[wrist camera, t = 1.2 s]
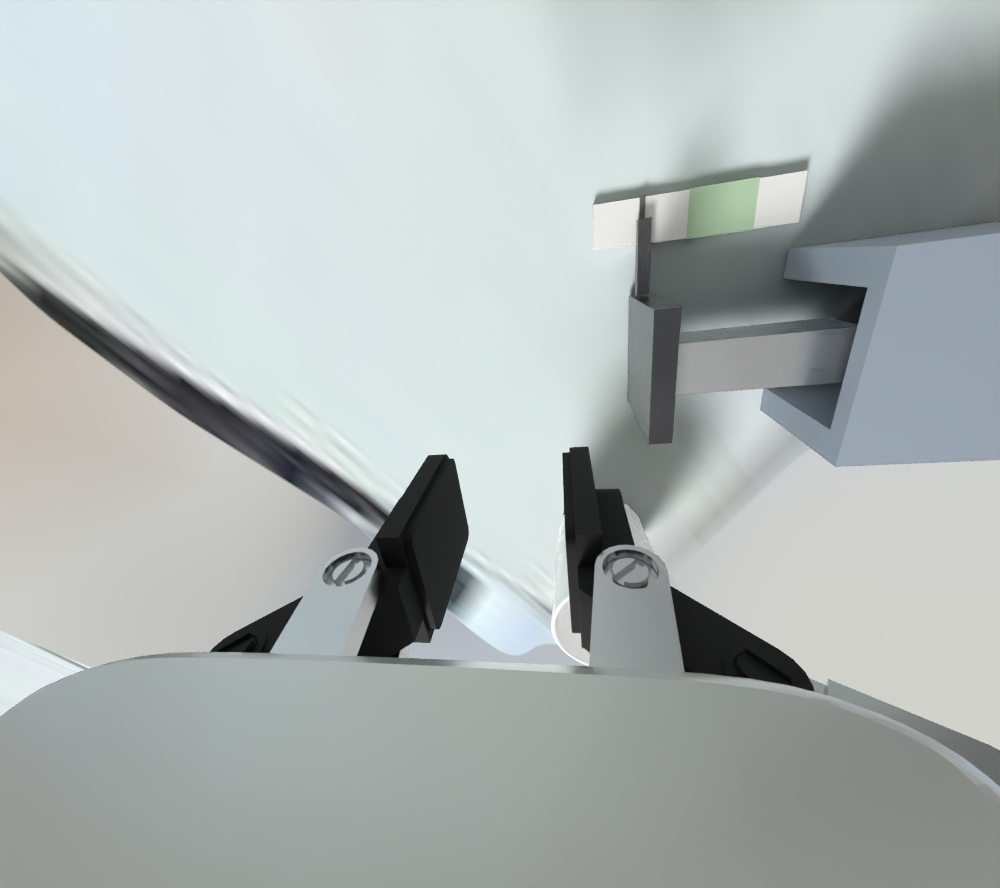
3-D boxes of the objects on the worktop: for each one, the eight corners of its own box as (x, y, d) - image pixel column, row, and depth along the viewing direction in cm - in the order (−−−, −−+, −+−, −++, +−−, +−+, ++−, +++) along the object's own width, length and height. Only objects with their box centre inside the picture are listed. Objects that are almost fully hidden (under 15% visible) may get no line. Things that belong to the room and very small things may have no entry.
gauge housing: (1026, 135, 19) (1309, 62, 12) (928, 398, 25) (1079, 456, 18) (592, 205, 23) (609, 182, 15) (596, 420, 28) (610, 476, 21)
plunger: (827, 191, 21) (944, 164, 14) (787, 388, 25) (863, 432, 19) (630, 221, 22) (658, 208, 16) (627, 400, 27) (648, 444, 21)
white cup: (631, 571, 34) (658, 682, 25) (544, 553, 35) (540, 656, 26) (660, 499, 31) (703, 599, 22) (563, 481, 31) (566, 571, 22)
